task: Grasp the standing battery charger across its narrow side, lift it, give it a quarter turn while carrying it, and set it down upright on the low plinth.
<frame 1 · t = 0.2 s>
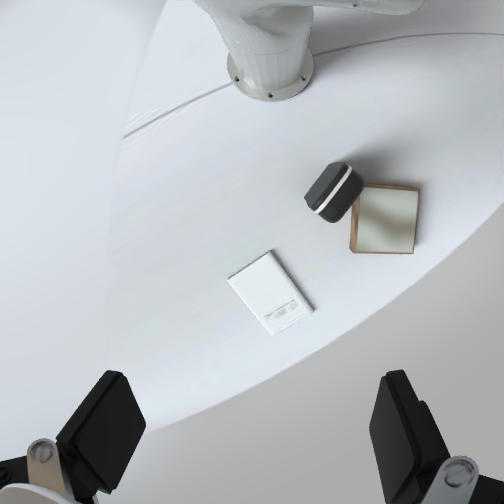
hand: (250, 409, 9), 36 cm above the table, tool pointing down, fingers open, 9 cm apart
plinth: (382, 217, 42), on the table
external hard drive: (271, 292, 48), on the table
battery charger: (326, 188, 42), on the table
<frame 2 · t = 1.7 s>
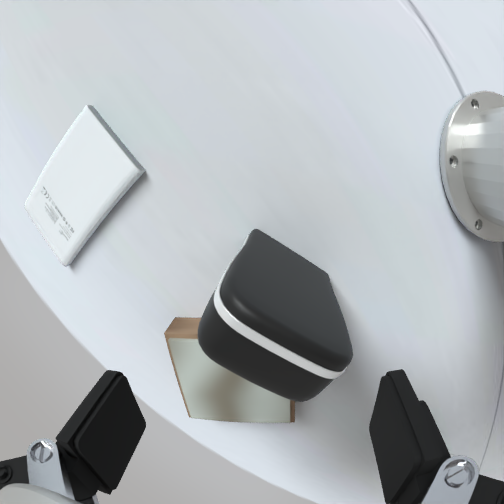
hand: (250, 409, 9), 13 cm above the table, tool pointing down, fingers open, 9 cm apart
plinth: (238, 365, 25), on the table
external hard drive: (80, 187, 23), on the table
battery charger: (279, 269, 22), on the table
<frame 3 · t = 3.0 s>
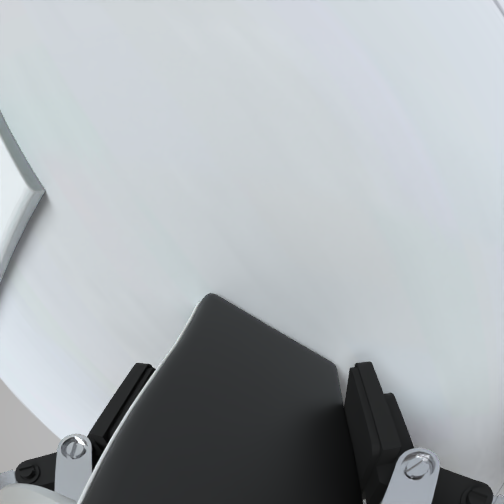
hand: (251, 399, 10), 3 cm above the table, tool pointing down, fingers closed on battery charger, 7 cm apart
battery charger: (254, 354, 13), on the table, touching gripper
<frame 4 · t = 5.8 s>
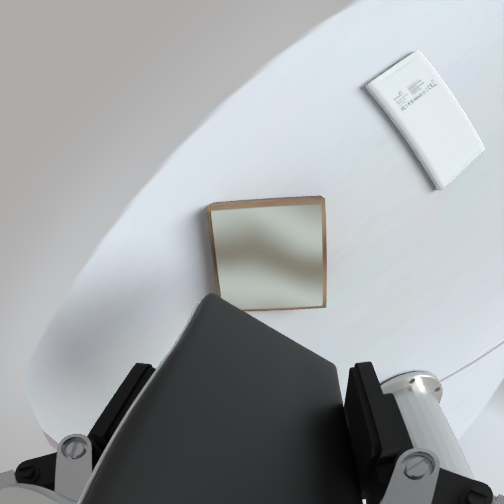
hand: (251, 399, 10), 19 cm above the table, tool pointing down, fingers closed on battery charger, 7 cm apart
plinth: (270, 250, 28), on the table
external hard drive: (426, 118, 23), on the table
battery charger: (254, 354, 13), point 16 cm above the table, touching gripper
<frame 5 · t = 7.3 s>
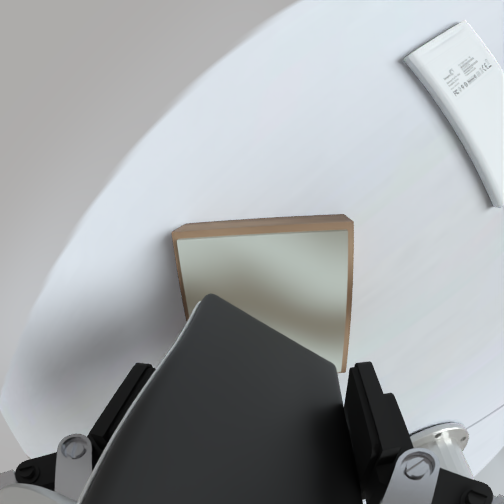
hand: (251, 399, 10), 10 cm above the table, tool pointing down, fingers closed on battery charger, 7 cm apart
plinth: (268, 293, 19), on the table
external hard drive: (479, 109, 15), on the table
battery charger: (254, 354, 13), point 7 cm above the table, touching gripper
when the fingers open (7 cm above the table, at t = 8.5 s): battery charger drops 1 cm, resting on plinth.
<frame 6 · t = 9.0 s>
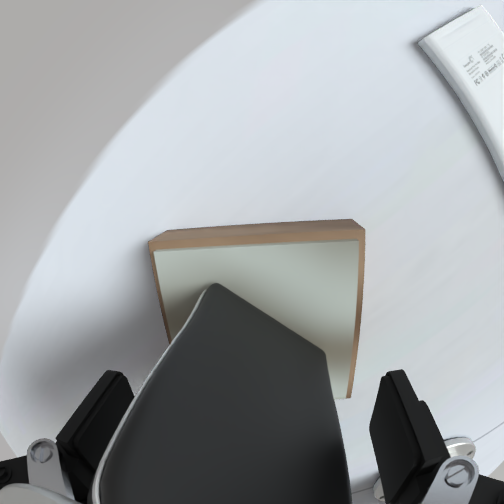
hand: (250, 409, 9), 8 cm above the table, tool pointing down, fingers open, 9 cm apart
plinth: (263, 310, 17), on the table
external hard drive: (499, 102, 12), on the table
battery charger: (252, 340, 14), point 3 cm above the table, touching plinth
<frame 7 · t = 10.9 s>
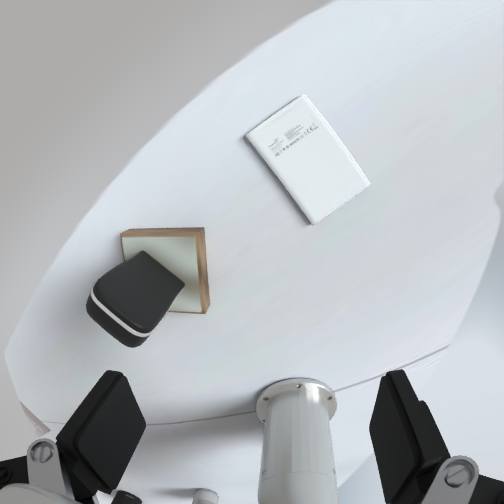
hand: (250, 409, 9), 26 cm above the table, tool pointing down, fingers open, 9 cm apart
plinth: (169, 266, 36), on the table
external hard drive: (308, 158, 32), on the table
energy drink can: (207, 492, 54), on the table
pen holder: (130, 496, 63), on the table
battery charger: (157, 276, 34), point 3 cm above the table, touching plinth
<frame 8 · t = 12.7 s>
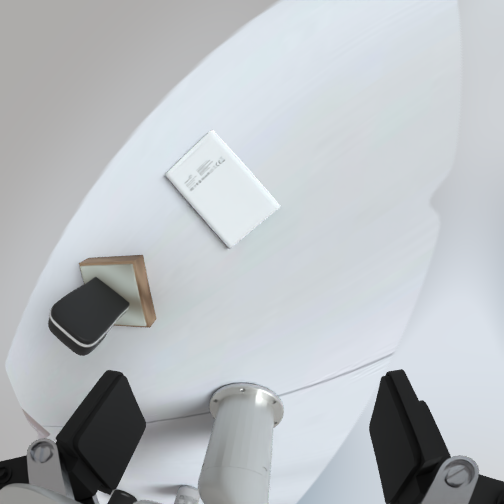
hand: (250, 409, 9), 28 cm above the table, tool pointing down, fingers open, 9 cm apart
plinth: (120, 288, 41), on the table
external hard drive: (223, 188, 36), on the table
energy drink can: (190, 488, 58), on the table
pen holder: (126, 494, 67), on the table
battery charger: (109, 297, 38), point 3 cm above the table, touching plinth
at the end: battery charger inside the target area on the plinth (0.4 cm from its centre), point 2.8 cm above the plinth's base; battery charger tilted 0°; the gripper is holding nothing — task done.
